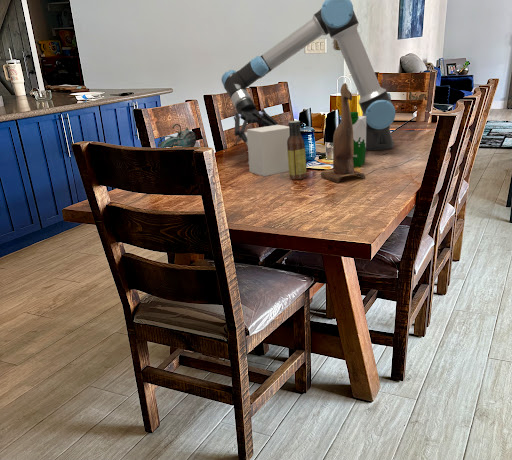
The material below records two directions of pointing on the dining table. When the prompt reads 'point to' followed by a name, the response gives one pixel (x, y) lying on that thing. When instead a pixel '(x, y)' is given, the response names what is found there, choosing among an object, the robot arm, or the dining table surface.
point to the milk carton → (359, 139)
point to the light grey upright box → (268, 149)
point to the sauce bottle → (296, 152)
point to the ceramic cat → (179, 139)
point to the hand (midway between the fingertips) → (266, 145)
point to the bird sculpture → (343, 143)
